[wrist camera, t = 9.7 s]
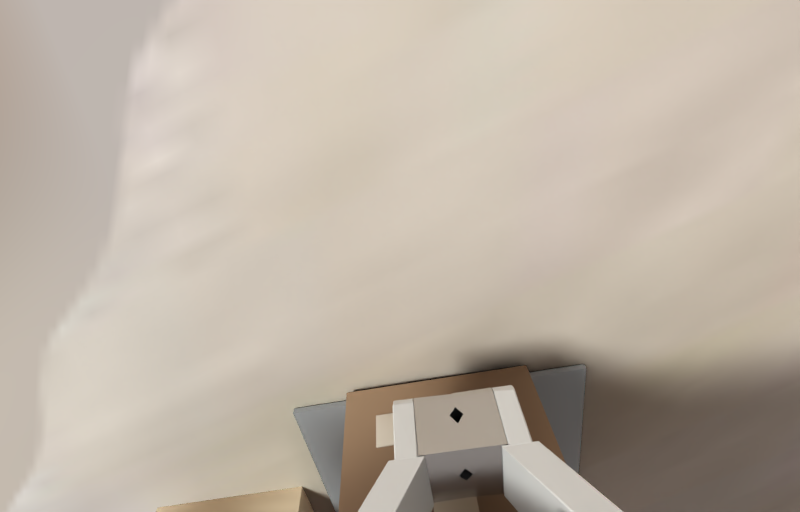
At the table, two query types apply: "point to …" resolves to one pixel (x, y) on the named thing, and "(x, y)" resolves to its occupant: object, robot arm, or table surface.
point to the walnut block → (374, 437)
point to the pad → (553, 386)
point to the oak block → (250, 503)
